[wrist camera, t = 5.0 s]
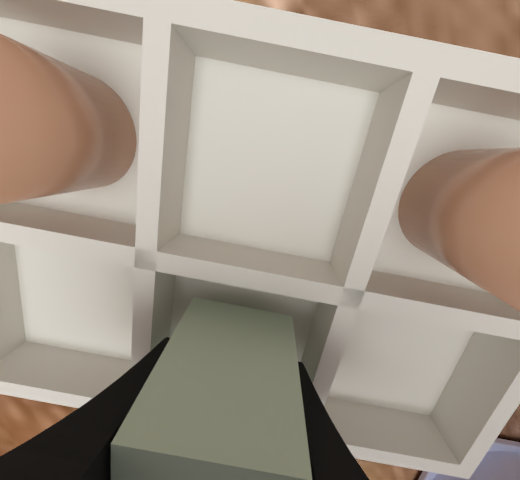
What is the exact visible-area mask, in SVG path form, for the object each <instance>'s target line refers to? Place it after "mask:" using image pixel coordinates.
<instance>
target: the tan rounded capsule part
mask: <svg viewBox="0 0 520 480" xmlns="http://www.w3.org/2000/svg"><path fill="white" fill-rule="evenodd" d="M135 152H136V131H135V126H134V123H133V120H132V117H131V114H130V112H129V110H128V108H127V107H126V105H125V103H124V102H123V100H122V99H121V98H120V97H119V95H118V94H117V93H116V92H115V91H114V90H113V89H112V88H111V87H110V86H108V85H107V84H106V83H104V82H103V81H101V80H99V79H98V78H96V77H94V76H91V75H89V74H87V73H85V72H83V71H81V70H78V69H76V68H74V67H72V66H70V65H67V64H65V63H63V62H61V61H59V60H57V59H54V58H52V57H50V56H48V55H46V54H44V53H41V52H39V51H37V50H35V49H33V48H31V47H28V46H26V45H24V44H22V43H20V42H18V41H15V40H13V39H11V38H9V37H7V36H5V35H2V34H0V204H4V203H10V202H16V201H22V200H28V199H34V198H40V197H46V196H52V195H58V194H64V193H70V192H76V191H82V190H88V189H94V188H100V187H105V186H108V185H111V184H113V183H115V182H117V181H118V180H119V179H121V178H122V177H123V176H124V175H125V174H126V173H127V171H128V170H129V168H130V166H131V165H132V162H133V160H134V157H135Z"/></svg>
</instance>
